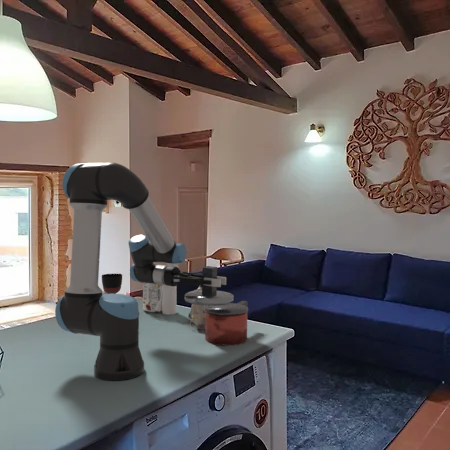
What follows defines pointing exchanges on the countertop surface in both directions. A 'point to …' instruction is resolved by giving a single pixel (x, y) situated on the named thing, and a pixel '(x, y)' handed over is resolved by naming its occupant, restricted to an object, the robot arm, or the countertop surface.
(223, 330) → the pot
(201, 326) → the chinaware
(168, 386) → the countertop surface
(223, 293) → the lid
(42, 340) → the countertop surface
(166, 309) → the fire extinguisher
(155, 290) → the juice carton
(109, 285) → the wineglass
